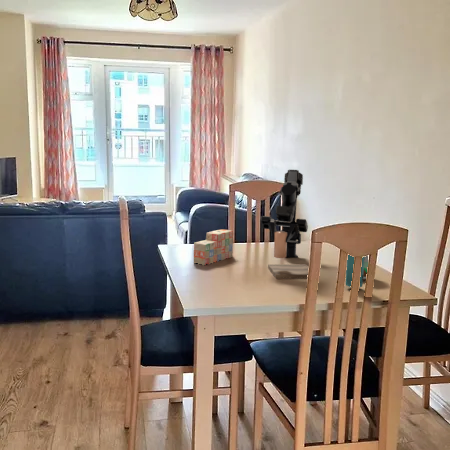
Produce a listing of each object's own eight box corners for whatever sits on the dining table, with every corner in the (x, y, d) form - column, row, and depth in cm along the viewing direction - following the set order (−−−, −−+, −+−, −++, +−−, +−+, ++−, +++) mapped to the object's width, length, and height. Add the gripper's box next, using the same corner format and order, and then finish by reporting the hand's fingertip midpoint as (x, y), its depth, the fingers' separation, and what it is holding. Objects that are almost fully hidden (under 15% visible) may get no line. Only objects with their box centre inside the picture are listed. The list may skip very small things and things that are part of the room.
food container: (375, 283, 201) (376, 257, 200) (358, 281, 203) (360, 256, 201) (372, 274, 213) (374, 250, 211) (357, 273, 214) (358, 249, 213)
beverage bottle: (351, 292, 189) (355, 237, 185) (340, 287, 195) (343, 234, 191) (366, 290, 191) (370, 236, 188) (355, 285, 197) (358, 233, 194)
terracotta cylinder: (271, 255, 214) (272, 231, 212) (283, 254, 216) (283, 230, 214) (277, 258, 209) (277, 233, 207) (288, 257, 211) (289, 233, 209)
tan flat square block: (268, 268, 221) (268, 264, 220) (305, 267, 222) (305, 264, 222) (275, 278, 205) (275, 274, 205) (315, 278, 207) (316, 274, 206)
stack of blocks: (205, 266, 223) (205, 237, 220) (193, 263, 226) (193, 235, 224) (232, 256, 240) (233, 230, 238) (221, 254, 243) (221, 228, 241)
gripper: (262, 196, 215) (253, 227, 207) (307, 199, 208) (300, 231, 200) (267, 212, 224) (258, 243, 216) (310, 215, 217) (303, 247, 209)
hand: (279, 241), depth 210 cm, fingers closed on terracotta cylinder, 5 cm apart
